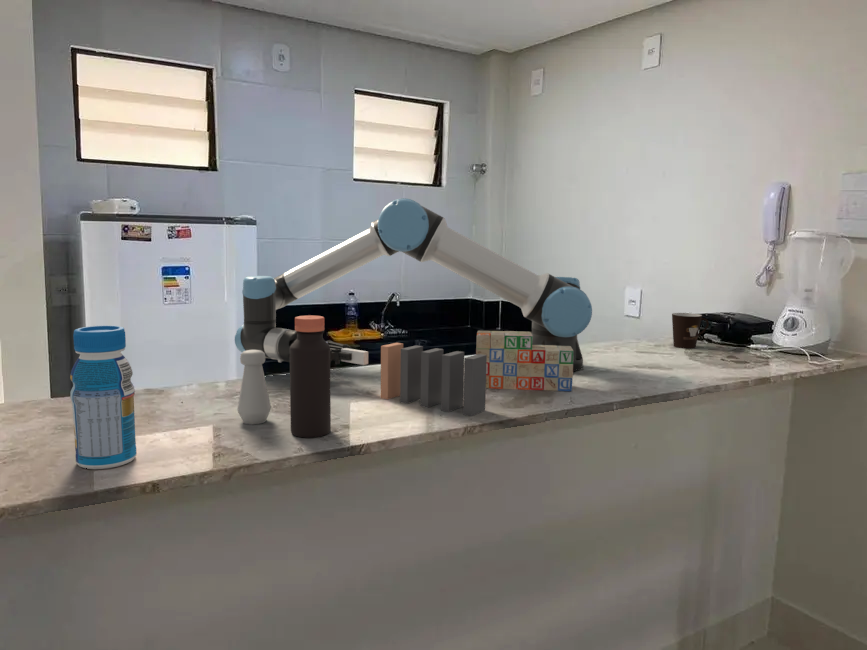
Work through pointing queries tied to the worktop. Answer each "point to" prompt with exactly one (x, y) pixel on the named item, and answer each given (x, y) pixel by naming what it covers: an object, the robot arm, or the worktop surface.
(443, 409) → the domino
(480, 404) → the domino
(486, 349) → the stack of blocks
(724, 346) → the worktop surface
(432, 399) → the domino
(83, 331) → the beverage bottle
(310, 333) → the vinegar
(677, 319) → the coffee mug
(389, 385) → the orange domino
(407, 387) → the domino
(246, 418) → the salt shaker
